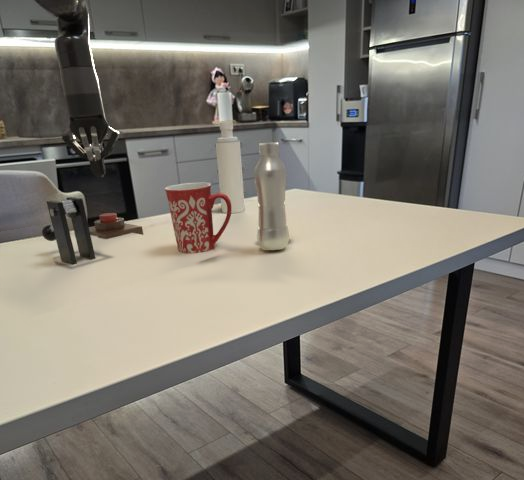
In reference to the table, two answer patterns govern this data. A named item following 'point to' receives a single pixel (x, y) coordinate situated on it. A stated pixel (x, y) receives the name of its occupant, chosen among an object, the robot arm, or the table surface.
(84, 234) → the bracket
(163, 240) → the table surface
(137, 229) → the button block
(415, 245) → the table surface
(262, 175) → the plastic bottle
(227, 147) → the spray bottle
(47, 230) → the tap lever
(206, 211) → the mug
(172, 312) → the table surface
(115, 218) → the button
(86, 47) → the robot arm
